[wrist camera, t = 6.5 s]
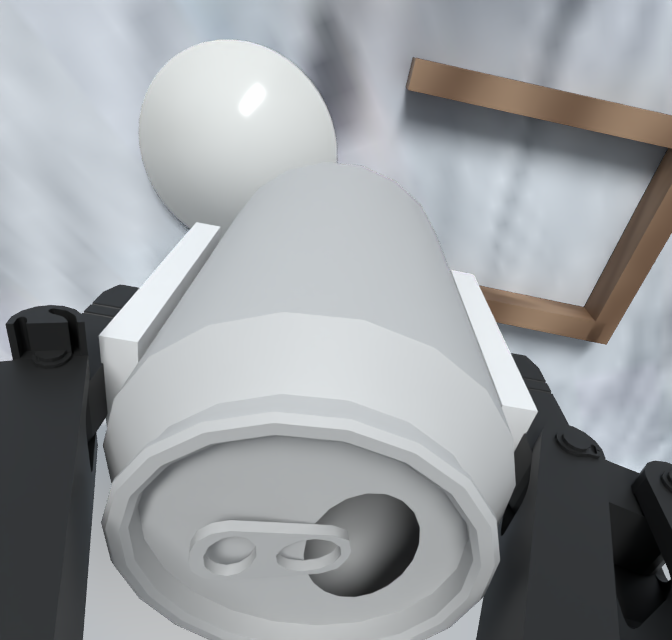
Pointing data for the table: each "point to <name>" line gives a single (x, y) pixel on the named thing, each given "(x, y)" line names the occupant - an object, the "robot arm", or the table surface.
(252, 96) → the white glossy ellipsoid
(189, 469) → the can
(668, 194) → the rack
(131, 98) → the table surface
